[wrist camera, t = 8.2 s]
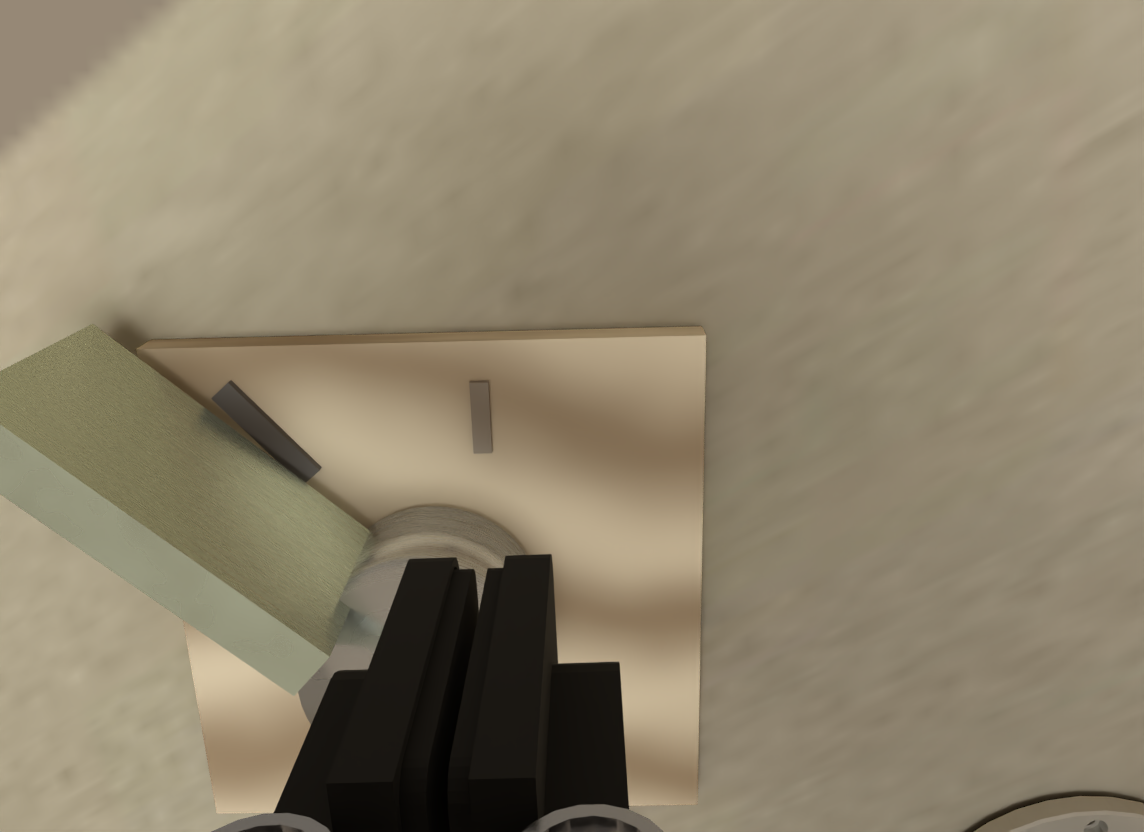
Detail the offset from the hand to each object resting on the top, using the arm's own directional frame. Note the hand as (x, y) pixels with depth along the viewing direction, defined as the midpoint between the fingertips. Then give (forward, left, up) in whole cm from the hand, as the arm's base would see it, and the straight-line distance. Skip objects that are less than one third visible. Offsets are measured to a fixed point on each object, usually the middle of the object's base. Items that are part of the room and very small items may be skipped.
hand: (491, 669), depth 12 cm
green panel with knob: (-7, +8, -20) cm, 22 cm away
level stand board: (-10, +4, -21) cm, 24 cm away
